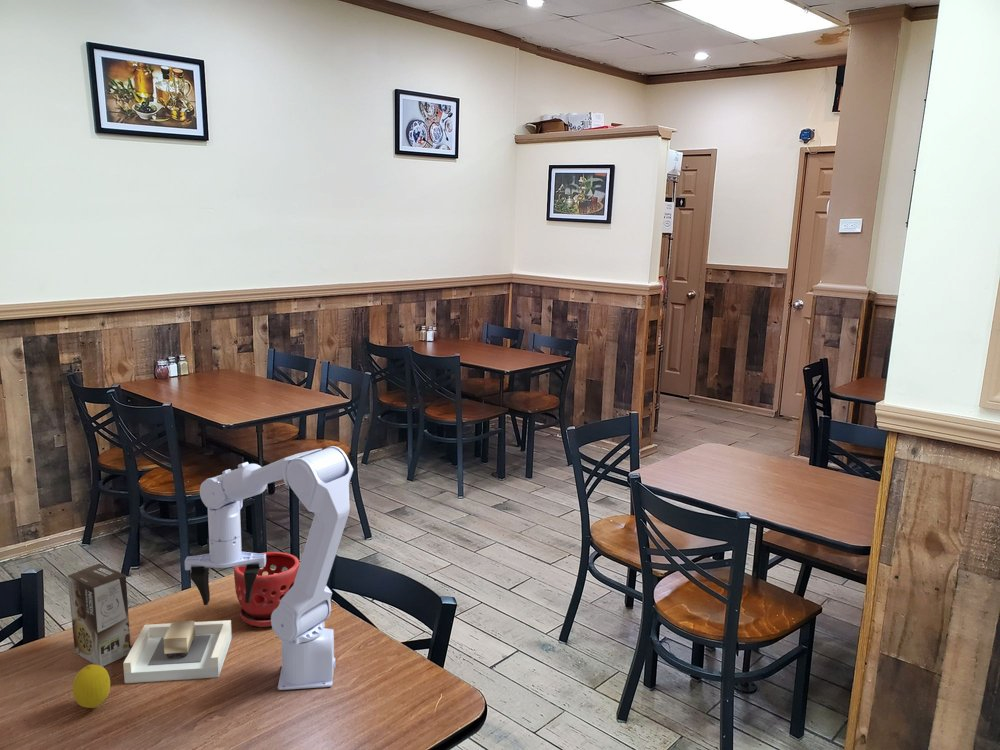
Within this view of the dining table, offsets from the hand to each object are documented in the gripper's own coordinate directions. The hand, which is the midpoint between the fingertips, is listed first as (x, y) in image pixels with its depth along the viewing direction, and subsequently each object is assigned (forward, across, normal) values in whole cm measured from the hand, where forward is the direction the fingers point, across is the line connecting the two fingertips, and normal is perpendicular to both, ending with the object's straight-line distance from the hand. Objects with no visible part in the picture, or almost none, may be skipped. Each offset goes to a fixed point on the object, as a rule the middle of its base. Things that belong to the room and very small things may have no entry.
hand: (227, 601), depth 144 cm
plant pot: (+10, -6, -11) cm, 16 cm away
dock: (+9, +8, +4) cm, 13 cm away
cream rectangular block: (+7, +8, +4) cm, 12 cm away
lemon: (+10, +19, +17) cm, 27 cm away
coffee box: (+10, +23, 0) cm, 25 cm away
